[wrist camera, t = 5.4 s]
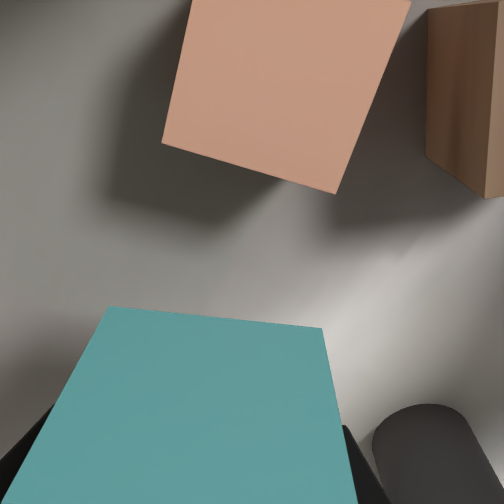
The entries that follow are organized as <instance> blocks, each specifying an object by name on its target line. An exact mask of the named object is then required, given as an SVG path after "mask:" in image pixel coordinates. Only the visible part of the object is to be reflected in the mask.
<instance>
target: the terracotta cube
mask: <svg viewBox="0 0 504 504" xmlns="http://www.w3.org/2000/svg"><path fill="white" fill-rule="evenodd" d="M410 5H411V2H410V1H407V0H193V1H192V5H191V10H190V14H189V19H188V24H187V28H186V33H185V37H184V42H183V46H182V51H181V56H180V60H179V65H178V69H177V74H176V79H175V83H174V88H173V92H172V97H171V101H170V106H169V111H168V115H167V120H166V124H165V129H164V134H163V138H162V143H163V144H167V145H170V146H173V147H177V148H180V149H183V150H187V151H190V152H194V153H197V154H200V155H204V156H207V157H211V158H214V159H217V160H221V161H224V162H227V163H231V164H234V165H238V166H241V167H244V168H248V169H251V170H255V171H258V172H261V173H265V174H268V175H272V176H275V177H278V178H282V179H285V180H288V181H292V182H295V183H299V184H302V185H305V186H309V187H312V188H316V189H319V190H322V191H326V192H329V193H332V194H336V192H337V189H338V187H339V184H340V182H341V179H342V177H343V174H344V172H345V169H346V167H347V164H348V162H349V159H350V157H351V154H352V151H353V149H354V146H355V144H356V141H357V139H358V136H359V134H360V131H361V129H362V126H363V124H364V121H365V119H366V116H367V114H368V111H369V109H370V106H371V103H372V101H373V98H374V96H375V93H376V91H377V88H378V86H379V83H380V81H381V78H382V76H383V73H384V71H385V68H386V66H387V63H388V61H389V58H390V55H391V53H392V50H393V48H394V45H395V43H396V40H397V38H398V35H399V33H400V30H401V28H402V25H403V23H404V20H405V18H406V15H407V12H408V10H409V7H410Z"/></svg>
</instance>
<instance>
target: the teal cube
mask: <svg viewBox="0 0 504 504" xmlns="http://www.w3.org/2000/svg"><path fill="white" fill-rule="evenodd" d="M1 504H358V501H357V497H356V492H355V487H354V482H353V477H352V472H351V468H350V463H349V458H348V453H347V448H346V443H345V438H344V434H343V429H342V424H341V419H340V414H339V409H338V405H337V400H336V395H335V390H334V385H333V380H332V375H331V371H330V366H329V361H328V356H327V351H326V346H325V342H324V337H323V332H322V328H313V327H304V326H294V325H285V324H275V323H266V322H256V321H247V320H237V319H228V318H218V317H209V316H199V315H189V314H180V313H170V312H161V311H151V310H142V309H132V308H123V307H113V306H109V307H108V309H107V310H106V312H105V314H104V316H103V318H102V319H101V321H100V323H99V325H98V327H97V329H96V330H95V332H94V334H93V336H92V338H91V340H90V341H89V343H88V345H87V347H86V349H85V350H84V352H83V354H82V356H81V358H80V360H79V361H78V363H77V365H76V367H75V369H74V371H73V372H72V374H71V376H70V378H69V380H68V382H67V383H66V385H65V387H64V389H63V391H62V392H61V394H60V396H59V398H58V400H57V402H56V403H55V405H54V407H53V409H52V411H51V413H50V414H49V416H48V418H47V420H46V422H45V423H44V425H43V427H42V429H41V431H40V433H39V434H38V436H37V438H36V440H35V442H34V444H33V445H32V447H31V449H30V451H29V453H28V455H27V456H26V458H25V460H24V462H23V464H22V465H21V467H20V469H19V471H18V473H17V475H16V476H15V478H14V480H13V482H12V484H11V486H10V487H9V489H8V491H7V493H6V495H5V496H4V498H3V500H2V502H1Z"/></svg>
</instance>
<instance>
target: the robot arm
mask: <svg viewBox="0 0 504 504" xmlns="http://www.w3.org/2000/svg"><path fill="white" fill-rule="evenodd" d="M54 405H55V404H54ZM54 405H53V406H52V407H51V408H50V409H49V410H48V411H47V412H46V413H45V414H44V415H43V416H42V417H41V419H40V420H39V421H38V422H37V423H36V424H35V425H34V426H33V427H32V428H31V429H30V430H29V431H28V432H27V433H26V434H25V435H24V437H23V438H22V439H21V440H20V441H19V442H18V443H17V444H16V445H15V446H14V447H13V448H12V449H11V450H10V451H9V452H8V453H7V454H6V455H5V456H4V457H3V458H2V459H1V460H0V504H1V502H2V500H3V498H4V496H5V495H6V493H7V491H8V489H9V487H10V486H11V484H12V482H13V480H14V478H15V476H16V475H17V473H18V471H19V469H20V467H21V465H22V464H23V462H24V460H25V458H26V456H27V455H28V453H29V451H30V449H31V447H32V445H33V444H34V442H35V440H36V438H37V436H38V434H39V433H40V431H41V429H42V427H43V425H44V423H45V422H46V420H47V418H48V416H49V414H50V413H51V411H52V409H53V407H54ZM342 429H343V434H344V438H345V443H346V448H347V453H348V458H349V463H350V468H351V472H352V477H353V482H354V487H355V492H356V497H357V501H358V504H392V502H391V500H390V499H389V497H388V496H387V494H386V493H385V491H384V489H383V488H382V486H381V484H380V483H379V481H378V479H377V478H376V476H375V474H374V473H373V471H372V469H371V468H370V466H369V464H368V463H367V461H366V459H365V457H364V456H363V454H362V452H361V450H360V449H359V447H358V445H357V443H356V441H355V439H354V438H353V436H352V434H351V432H350V430H349V429H348V428H347V426H346V425H342Z"/></svg>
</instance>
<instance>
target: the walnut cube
mask: <svg viewBox="0 0 504 504" xmlns="http://www.w3.org/2000/svg"><path fill="white" fill-rule="evenodd" d="M426 157H427V158H429V159H430V160H431V161H433V162H434V163H436V164H437V165H438V166H440V167H441V168H442V169H444V170H445V171H447V172H448V173H449V174H451V175H452V176H453V177H455V178H456V179H457V180H459V181H460V182H462V183H463V184H464V185H466V186H467V187H468V188H470V189H471V190H473V191H474V192H475V193H477V194H478V195H479V196H481V197H482V198H484V199H489V198H496V197H504V0H481V1H475V2H469V3H462V4H456V5H450V6H444V7H437V8H431V9H428V23H427V92H426Z"/></svg>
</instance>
